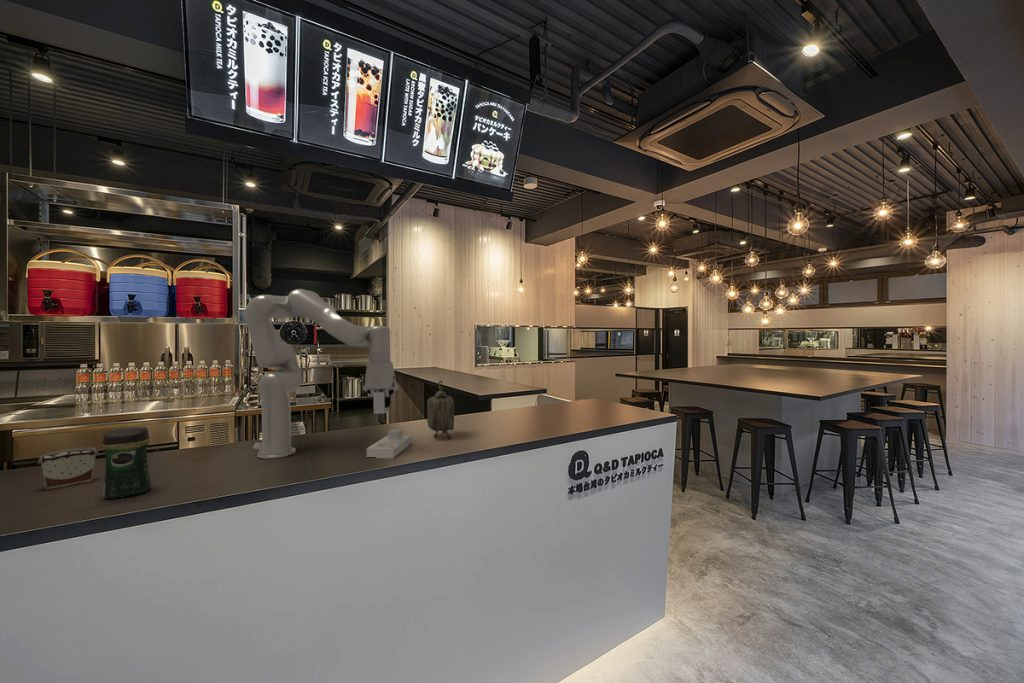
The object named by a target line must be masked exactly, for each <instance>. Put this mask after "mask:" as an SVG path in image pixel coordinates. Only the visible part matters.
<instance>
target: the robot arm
mask: <svg viewBox="0 0 1024 683" xmlns="http://www.w3.org/2000/svg"><path fill="white" fill-rule="evenodd" d="M300 316H302V317H303V316H304V317H305V318H307V319H309V320H310V321H312V322H313V323H315V324H317V325H318V326H320V327H321V328H322V329H323V330H324V331H325V332H326V333H328V334H329V335H331V336H332V337H333V338H335V339H337V340H338V341H340V342H342V343H343V344H346V345H348V346H351V347H357V346H359V347H360V346H361V347H362V346H363V347H364V346H369V354H368V355H366V356H365V358H366V360H369V362H367V364H366V368H365V369H366V370H365V380H364V381H365V382H364V385H363V386H362V388H361V389H362V390H363V391H364V392H366V393H367V394H368V395H369V396H370V398H371V406H372V408H373V409H374V398H373V392H376V391H378V390H379V389H383V390H384V391H385V393H386V397H385V408H387V407H389V408H390V406H391V404H392V403H391V401H392V400H391V399H392V398H391V396H392V395H393V394H394V393H395V392H396V391H398V390H399V389H400V386H399V384H398V383H397V382H396V374H395V368H394V364H393V362H392V361H391V329H390V327H389V326H387V325H373V326H364V325H357V324H354V323H352V322H350V321H348V320H347V319H345V318H343V317H341V316H340V315H339V314H338V313H337V311H336V308H335V307H334V306H333V305H331V304H329V303H327V302H326V301H324V300H322V298H321V296H320V295H319V294H318V293H316V292H314V291H312V290H307V289H303V288H297V289H293V290H292V291H290V292H289V294H287V296H283V297H282V296H277V295H272V294H261V295H257V296H255V297H253V298H252V299H250V301H248V303H247V305H246V307H245V309H244V320H245V323H246V326H247V328H248V329H247V330H248V333H249V336H250V340H251V345H252V349H253V352H254V356H255V359H256V362H257V364H258V365H259V366H260V367H261V368H266V369H269V368H270V369H271V368H273V369H274V370H271V371H268V372H266V373H264V374H263V375H262V376H261V377H260V378H259V381H258V391H259V396H260V403H261V404H260V406H261V442H256V443H254V445H253V447H252V449H253V450H259V451H258V452H257V453H256V454H257V458H258V457H259V459H262V458H263V459H264V460H265V459H266V460H267V459H268V460H269V459H271V460H272V459H280V458H286V457H289V456H291V454H292V455H294V454H295V453H296V452H297V449H296V447H294V446H293V447H292V422H291V421H292V414H291V413H292V412H291V408H292V407H291V406H292V405H291V402H290V401H291V400H290V398H289V395H288V394H291V393H294V392H296V391H298V390H299V388H300V387H301V385H302V382H303V381H302V373H301V370H300V366H299V362H298V359H297V355H296V352H295V350H294V348H293V347H292V346H291V345H290V344H288V343H286V342H282V341H281V342H280V340H279V338H278V335H277V331H276V328H275V326H274V324H273V323H272V321H271V319H281V320H282V319H290V318H297V317H300ZM288 455H289V456H288Z"/></svg>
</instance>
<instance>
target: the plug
mask: <svg viewBox="0 0 1024 683" xmlns="http://www.w3.org/2000/svg"><path fill="white" fill-rule="evenodd" d="M385 397H386V393H385V390H384V389H378V390H377V391H376V392H373V398H374V408H373V414H374V415H376V414H377V415H378V414H379V415H380V414H382V415H383V414H387V413H389V412H390V406H389V407H387V408H385Z"/></svg>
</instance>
